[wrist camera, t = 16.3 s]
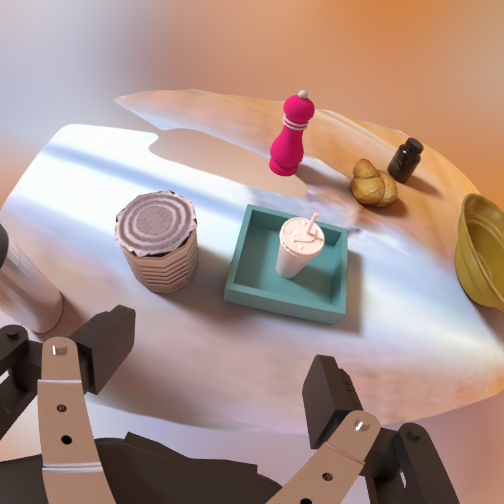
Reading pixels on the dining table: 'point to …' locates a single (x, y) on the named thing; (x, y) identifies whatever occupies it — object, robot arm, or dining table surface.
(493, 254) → the planter bowl
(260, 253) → the tote
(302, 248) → the smoothie
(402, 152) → the supplement bottle
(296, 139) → the pepper mill
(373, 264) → the dining table surface
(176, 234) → the can
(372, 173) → the bread roll
